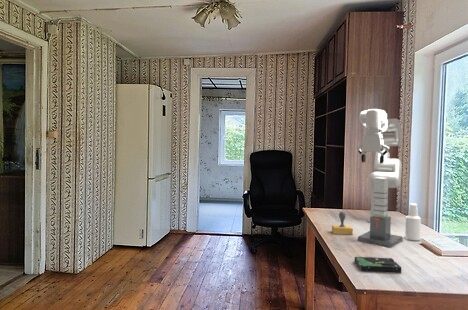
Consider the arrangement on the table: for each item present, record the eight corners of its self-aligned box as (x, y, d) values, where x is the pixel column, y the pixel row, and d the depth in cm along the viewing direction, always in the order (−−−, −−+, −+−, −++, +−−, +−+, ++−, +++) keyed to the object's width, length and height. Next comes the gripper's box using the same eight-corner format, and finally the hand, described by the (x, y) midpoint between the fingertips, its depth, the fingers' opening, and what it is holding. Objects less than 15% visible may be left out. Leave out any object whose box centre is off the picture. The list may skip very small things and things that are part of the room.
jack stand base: (370, 234, 176) (370, 212, 176) (402, 240, 165) (402, 216, 165) (357, 240, 165) (358, 216, 164) (391, 247, 154) (392, 222, 153)
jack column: (377, 220, 168) (377, 177, 168) (387, 221, 165) (388, 178, 164) (373, 221, 165) (373, 177, 164) (383, 223, 161) (384, 178, 160)
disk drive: (391, 264, 133) (353, 262, 135) (391, 257, 133) (354, 256, 135) (401, 274, 123) (360, 272, 124) (402, 267, 123) (361, 265, 124)
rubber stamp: (333, 234, 176) (334, 212, 176) (331, 231, 182) (332, 210, 182) (352, 235, 175) (353, 212, 175) (350, 232, 181) (350, 210, 181)
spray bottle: (418, 237, 170) (419, 203, 170) (421, 241, 164) (422, 205, 163) (404, 236, 173) (405, 202, 172) (406, 239, 166) (407, 204, 166)
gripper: (391, 131, 178) (391, 163, 178) (360, 132, 190) (359, 161, 190) (387, 131, 172) (386, 163, 173) (354, 131, 184) (354, 162, 185)
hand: (372, 162), depth 182 cm, fingers open, 9 cm apart
